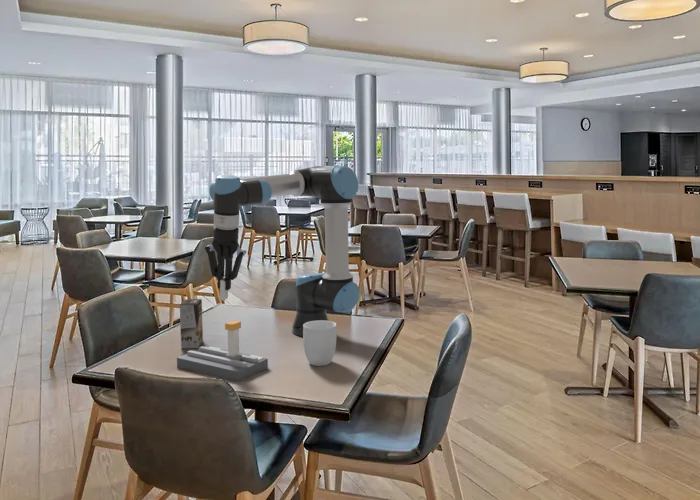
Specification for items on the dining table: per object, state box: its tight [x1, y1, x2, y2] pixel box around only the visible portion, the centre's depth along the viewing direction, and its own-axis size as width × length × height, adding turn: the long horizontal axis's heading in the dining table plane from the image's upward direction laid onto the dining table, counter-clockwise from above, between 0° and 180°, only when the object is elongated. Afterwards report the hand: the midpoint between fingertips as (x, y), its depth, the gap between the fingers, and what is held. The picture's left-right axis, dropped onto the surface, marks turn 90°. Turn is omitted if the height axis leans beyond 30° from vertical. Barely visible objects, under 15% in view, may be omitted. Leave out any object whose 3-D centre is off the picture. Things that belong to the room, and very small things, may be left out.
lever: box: [224, 320, 243, 361], centre depth 178 cm, size 4×4×12 cm
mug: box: [302, 320, 338, 367], centre depth 187 cm, size 15×11×13 cm
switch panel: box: [176, 345, 269, 382], centre depth 182 cm, size 26×14×4 cm, turn 60°
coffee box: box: [179, 298, 204, 349], centre depth 205 cm, size 9×6×16 cm
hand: (223, 298), depth 179 cm, fingers closed
